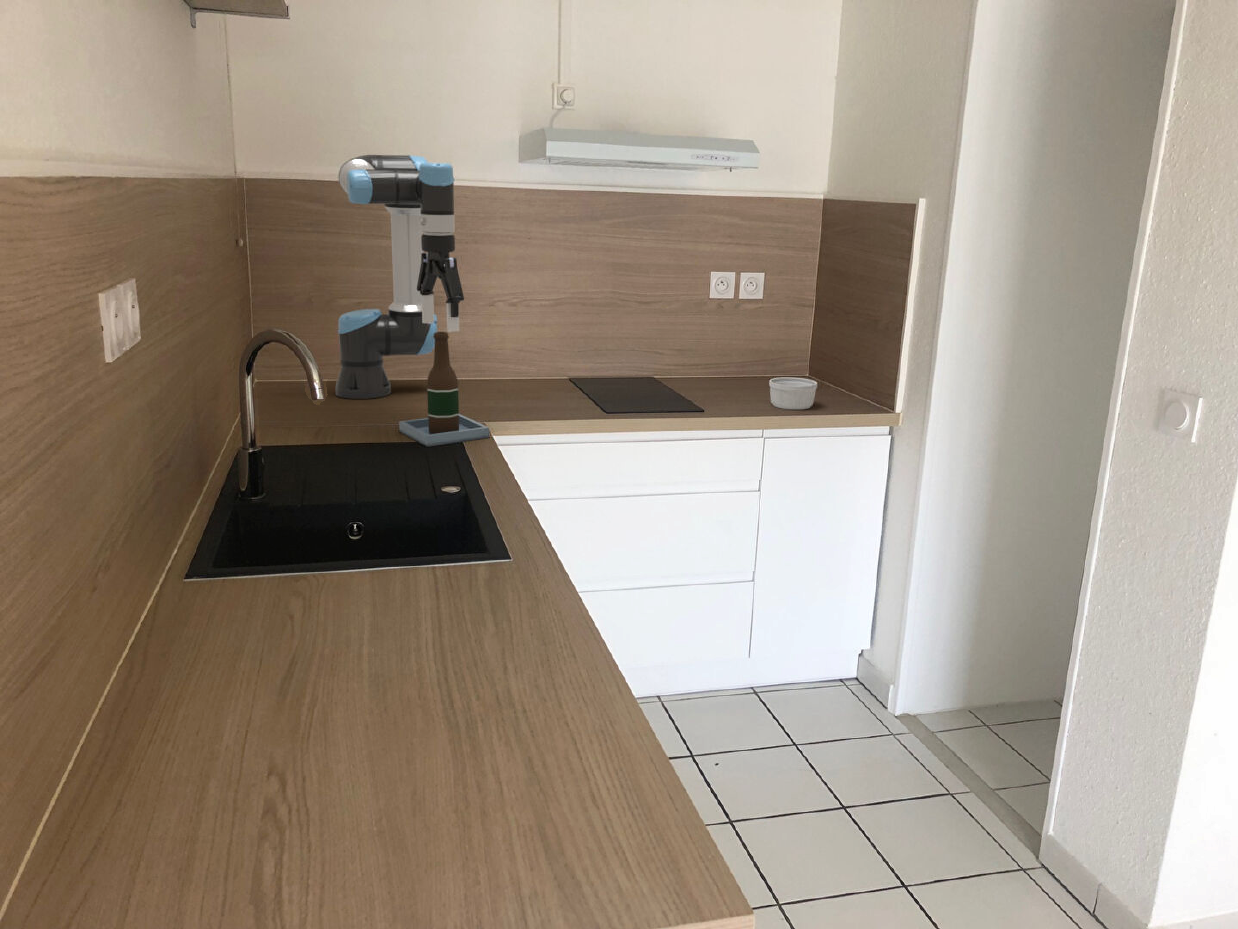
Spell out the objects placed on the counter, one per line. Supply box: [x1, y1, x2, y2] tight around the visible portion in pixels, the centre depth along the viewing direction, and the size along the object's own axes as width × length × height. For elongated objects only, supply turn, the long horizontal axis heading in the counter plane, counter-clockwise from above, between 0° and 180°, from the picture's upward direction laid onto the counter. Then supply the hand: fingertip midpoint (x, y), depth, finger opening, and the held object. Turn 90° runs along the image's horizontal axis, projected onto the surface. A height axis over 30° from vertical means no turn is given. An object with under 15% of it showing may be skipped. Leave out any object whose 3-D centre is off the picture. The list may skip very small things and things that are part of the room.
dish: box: [398, 413, 490, 448], centre depth 235 cm, size 16×16×2 cm
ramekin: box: [768, 376, 818, 411], centre depth 273 cm, size 13×13×7 cm
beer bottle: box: [426, 331, 460, 434], centre depth 231 cm, size 8×8×24 cm
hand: (440, 327), depth 228 cm, fingers open, 13 cm apart
